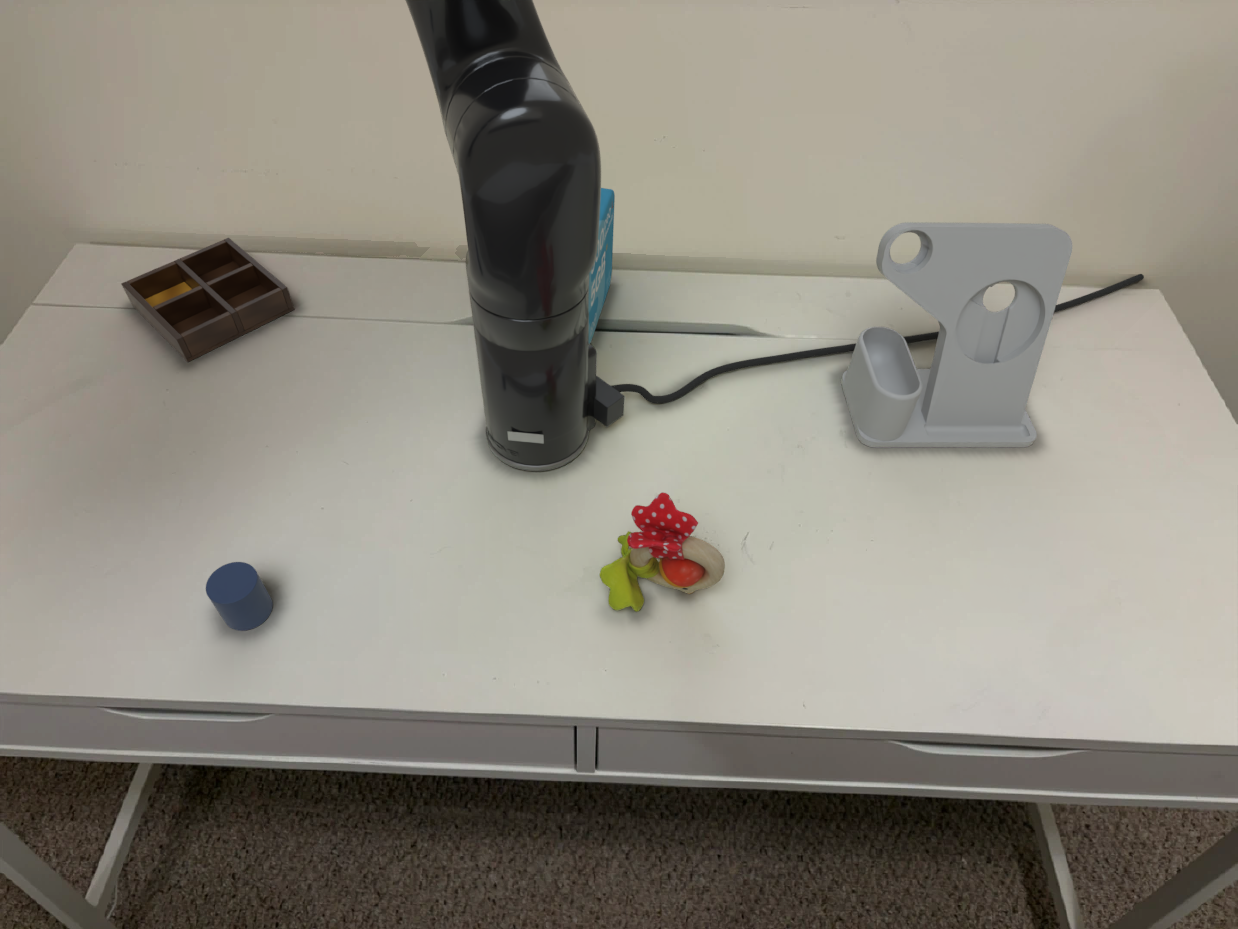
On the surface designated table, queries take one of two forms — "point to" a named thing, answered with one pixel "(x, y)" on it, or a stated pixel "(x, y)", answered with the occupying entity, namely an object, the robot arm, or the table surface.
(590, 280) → the data package
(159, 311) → the grid
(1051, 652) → the table surface
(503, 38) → the robot arm
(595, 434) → the table surface
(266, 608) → the blue cylinder
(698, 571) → the bird rattle
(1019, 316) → the phone holder
